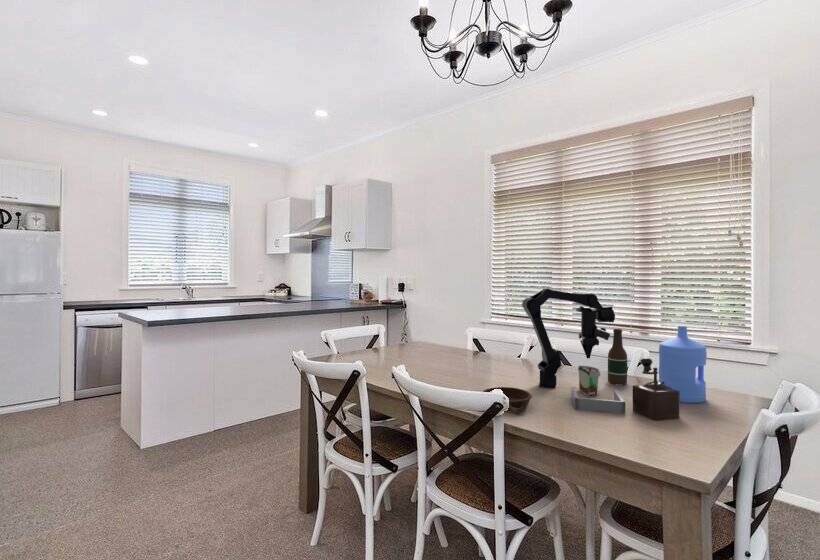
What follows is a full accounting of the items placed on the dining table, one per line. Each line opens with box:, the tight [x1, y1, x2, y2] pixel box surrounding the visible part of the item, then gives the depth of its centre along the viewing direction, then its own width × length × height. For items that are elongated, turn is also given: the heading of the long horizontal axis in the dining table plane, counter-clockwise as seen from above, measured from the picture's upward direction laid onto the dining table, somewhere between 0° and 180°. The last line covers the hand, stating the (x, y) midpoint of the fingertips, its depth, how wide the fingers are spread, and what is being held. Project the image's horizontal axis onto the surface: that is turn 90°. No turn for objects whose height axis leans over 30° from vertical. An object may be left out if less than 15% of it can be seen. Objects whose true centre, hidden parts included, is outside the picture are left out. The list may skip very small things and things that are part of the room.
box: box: [571, 386, 626, 414], centre depth 155 cm, size 16×15×4 cm
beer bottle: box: [607, 328, 628, 386], centre depth 185 cm, size 8×8×24 cm
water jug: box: [658, 325, 707, 404], centre depth 163 cm, size 16×16×28 cm
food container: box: [577, 365, 601, 397], centre depth 170 cm, size 12×6×10 cm, turn 179°
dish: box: [482, 386, 533, 414], centre depth 154 cm, size 18×22×5 cm
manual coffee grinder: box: [632, 357, 681, 422], centre depth 147 cm, size 16×11×18 cm
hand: (588, 358), depth 181 cm, fingers closed
